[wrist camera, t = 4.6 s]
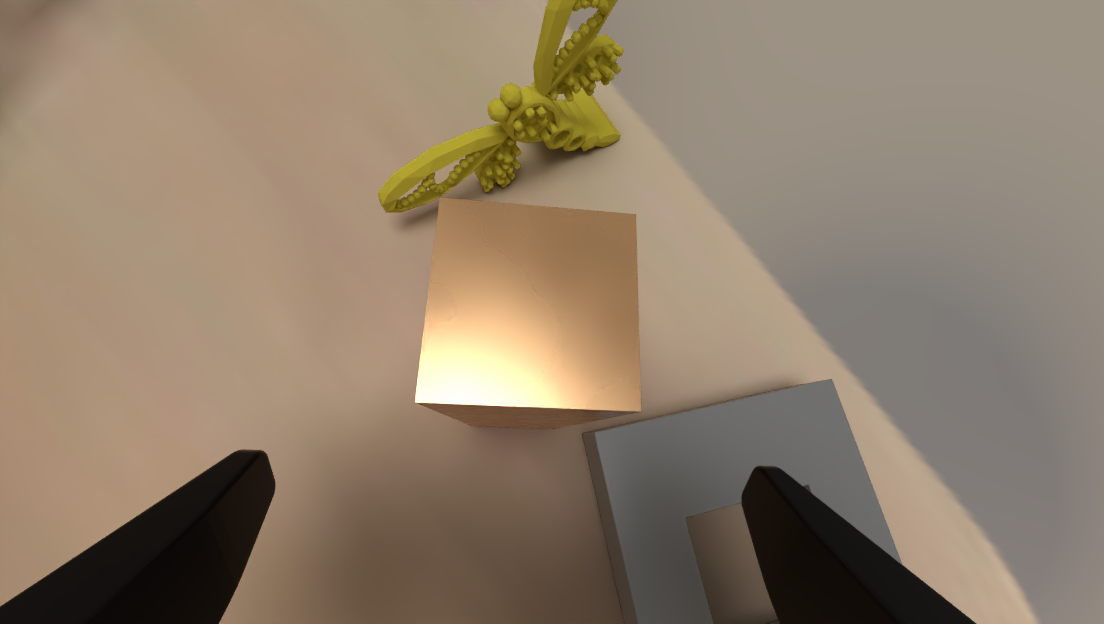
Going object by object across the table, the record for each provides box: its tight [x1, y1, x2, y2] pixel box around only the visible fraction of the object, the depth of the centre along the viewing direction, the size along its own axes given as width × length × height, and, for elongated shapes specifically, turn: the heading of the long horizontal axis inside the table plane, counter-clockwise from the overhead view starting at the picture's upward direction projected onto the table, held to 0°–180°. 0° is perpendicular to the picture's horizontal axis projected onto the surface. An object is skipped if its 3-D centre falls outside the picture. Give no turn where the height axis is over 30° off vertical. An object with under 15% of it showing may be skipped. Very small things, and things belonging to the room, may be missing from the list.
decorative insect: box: [378, 0, 624, 212], centre depth 19 cm, size 13×3×10 cm
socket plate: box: [582, 379, 902, 624], centre depth 16 cm, size 12×10×2 cm
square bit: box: [415, 197, 641, 429], centre depth 13 cm, size 3×3×12 cm
